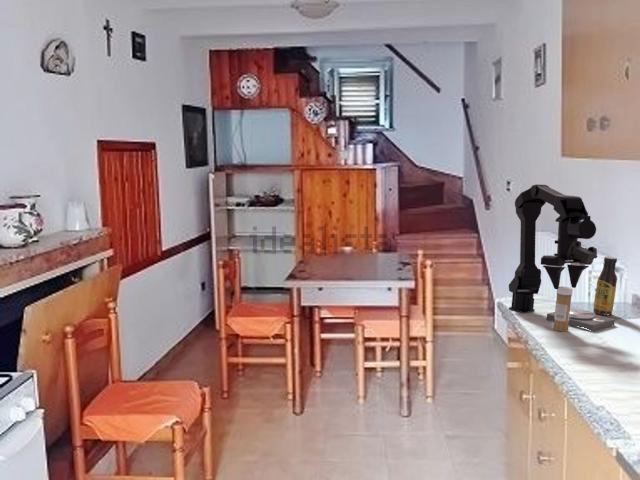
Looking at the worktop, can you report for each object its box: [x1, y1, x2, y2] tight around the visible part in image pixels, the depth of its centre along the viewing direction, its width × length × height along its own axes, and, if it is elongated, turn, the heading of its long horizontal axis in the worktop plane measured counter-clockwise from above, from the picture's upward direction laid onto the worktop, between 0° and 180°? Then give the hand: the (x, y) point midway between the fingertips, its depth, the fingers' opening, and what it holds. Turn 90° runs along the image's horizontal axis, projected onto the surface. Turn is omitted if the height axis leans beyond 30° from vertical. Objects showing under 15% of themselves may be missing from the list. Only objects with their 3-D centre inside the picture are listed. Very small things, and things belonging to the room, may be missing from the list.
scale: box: [545, 311, 616, 332], centre depth 228 cm, size 16×14×2 cm
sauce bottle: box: [592, 256, 618, 316], centre depth 240 cm, size 6×6×20 cm
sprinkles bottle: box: [553, 286, 574, 332], centre depth 216 cm, size 5×5×14 cm
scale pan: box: [569, 307, 595, 320], centre depth 229 cm, size 12×12×1 cm
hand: (565, 288), depth 214 cm, fingers open, 9 cm apart
